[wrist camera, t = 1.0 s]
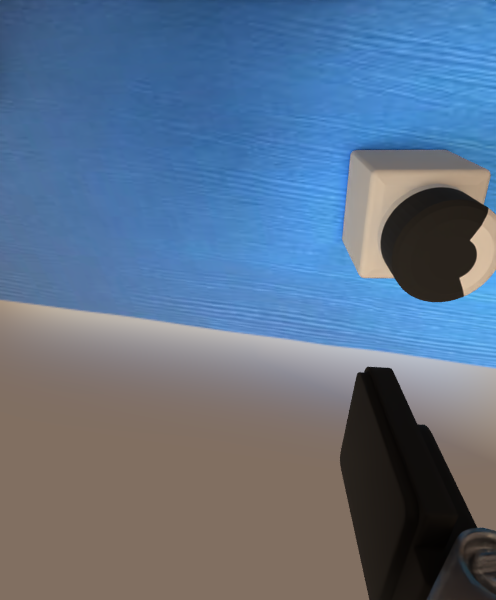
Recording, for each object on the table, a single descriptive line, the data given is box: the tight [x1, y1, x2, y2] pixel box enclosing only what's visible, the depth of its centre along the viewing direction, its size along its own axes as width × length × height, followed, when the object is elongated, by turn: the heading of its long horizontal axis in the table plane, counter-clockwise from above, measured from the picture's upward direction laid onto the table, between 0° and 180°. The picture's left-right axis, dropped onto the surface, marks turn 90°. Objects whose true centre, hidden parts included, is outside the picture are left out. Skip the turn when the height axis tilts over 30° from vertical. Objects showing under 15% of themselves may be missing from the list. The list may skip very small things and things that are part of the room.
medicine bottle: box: [342, 150, 496, 302], centre depth 29 cm, size 7×7×12 cm
